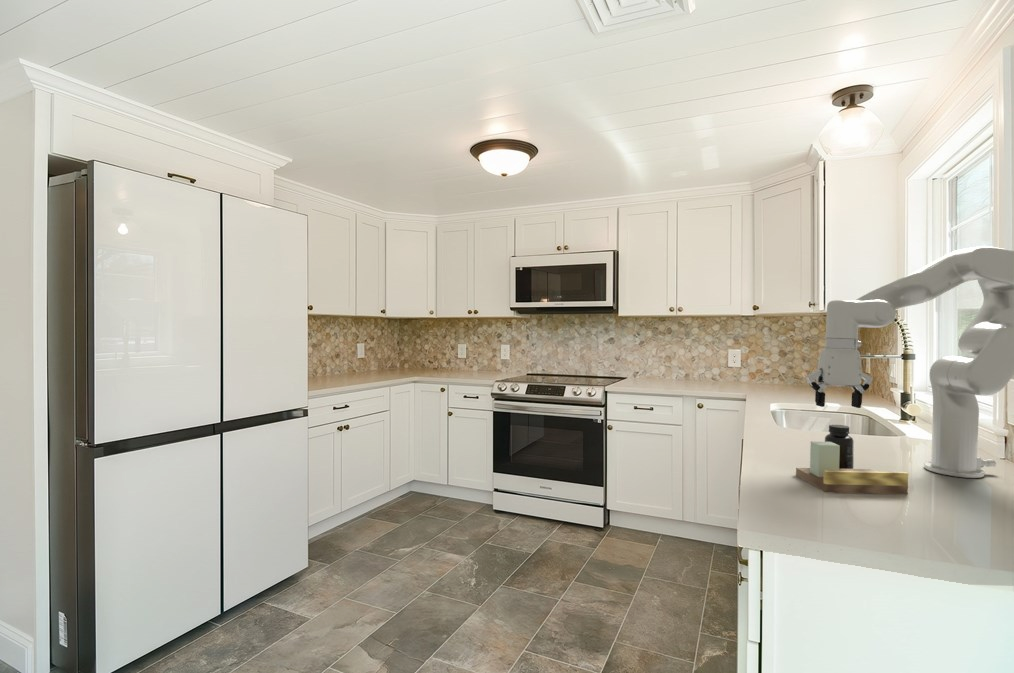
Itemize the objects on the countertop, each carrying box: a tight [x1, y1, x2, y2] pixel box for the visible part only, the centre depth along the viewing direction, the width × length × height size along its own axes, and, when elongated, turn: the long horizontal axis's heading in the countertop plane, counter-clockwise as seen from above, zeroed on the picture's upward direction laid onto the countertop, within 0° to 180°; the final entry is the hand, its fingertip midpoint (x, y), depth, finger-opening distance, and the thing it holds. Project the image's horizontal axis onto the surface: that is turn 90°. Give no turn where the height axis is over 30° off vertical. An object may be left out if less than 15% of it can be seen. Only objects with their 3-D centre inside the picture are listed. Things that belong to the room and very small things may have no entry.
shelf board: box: [795, 467, 909, 495], centre depth 132 cm, size 19×14×5 cm
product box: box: [809, 441, 840, 477], centre depth 133 cm, size 5×4×8 cm
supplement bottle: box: [824, 424, 855, 469], centre depth 145 cm, size 7×7×12 cm
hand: (838, 406), depth 145 cm, fingers open, 9 cm apart
